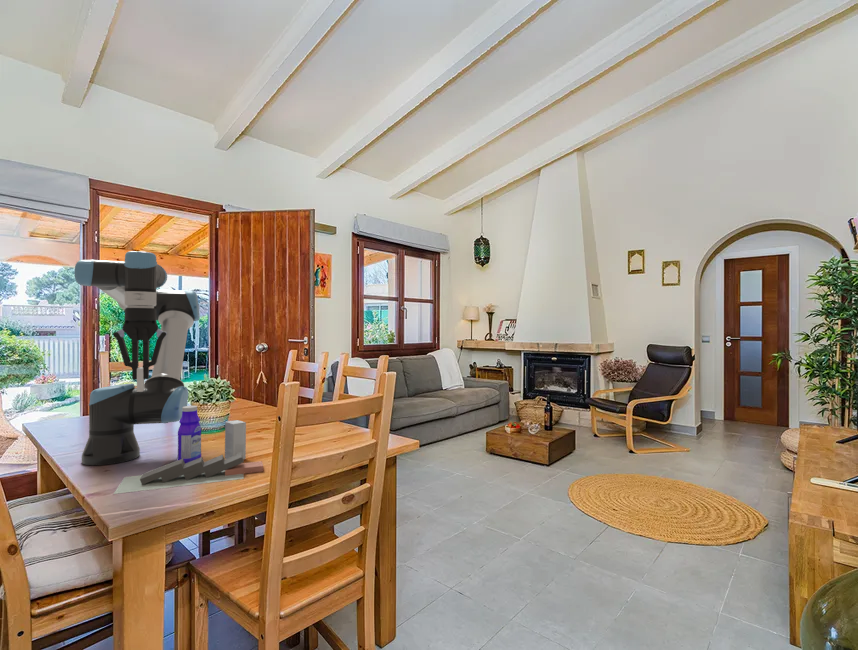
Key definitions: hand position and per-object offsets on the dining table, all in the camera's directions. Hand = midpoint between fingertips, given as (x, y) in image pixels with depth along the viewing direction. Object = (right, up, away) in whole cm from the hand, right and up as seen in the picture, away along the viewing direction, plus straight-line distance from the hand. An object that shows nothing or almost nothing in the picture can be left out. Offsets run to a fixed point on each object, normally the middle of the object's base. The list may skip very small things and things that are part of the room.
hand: (140, 390), depth 127 cm
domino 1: (+5, -23, -7) cm, 24 cm away
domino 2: (+9, -23, -5) cm, 25 cm away
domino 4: (+19, -23, -1) cm, 30 cm away
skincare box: (+20, -24, +16) cm, 35 cm away
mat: (+14, -24, -3) cm, 28 cm away
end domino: (+23, -23, +1) cm, 33 cm away
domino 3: (+14, -23, -3) cm, 27 cm away
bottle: (+7, -24, +13) cm, 28 cm away
